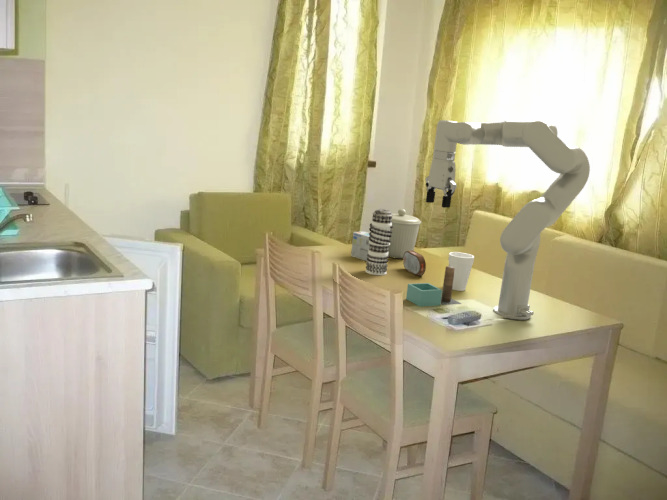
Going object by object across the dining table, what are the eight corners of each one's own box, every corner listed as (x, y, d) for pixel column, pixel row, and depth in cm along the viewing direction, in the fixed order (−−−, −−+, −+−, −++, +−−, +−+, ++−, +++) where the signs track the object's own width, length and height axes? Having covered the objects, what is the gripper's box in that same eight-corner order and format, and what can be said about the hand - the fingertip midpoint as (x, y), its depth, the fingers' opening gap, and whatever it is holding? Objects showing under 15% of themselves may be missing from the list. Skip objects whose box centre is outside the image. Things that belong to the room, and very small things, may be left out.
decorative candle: (375, 268, 282) (381, 207, 276) (392, 274, 275) (399, 211, 270) (359, 270, 275) (366, 208, 270) (377, 276, 269) (384, 212, 263)
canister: (397, 262, 296) (403, 213, 291) (367, 252, 308) (373, 206, 304) (425, 258, 308) (431, 212, 303) (395, 249, 321) (400, 204, 316)
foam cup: (469, 293, 258) (474, 259, 255) (444, 289, 259) (448, 255, 257) (469, 287, 267) (474, 254, 264) (445, 283, 268) (449, 250, 266)
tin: (425, 277, 275) (427, 257, 273) (418, 278, 273) (420, 257, 272) (407, 267, 288) (410, 248, 286) (400, 267, 287) (403, 248, 285)
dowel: (452, 301, 242) (456, 268, 239) (444, 302, 241) (449, 268, 238) (446, 299, 245) (451, 266, 242) (439, 299, 243) (443, 266, 241)
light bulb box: (379, 260, 296) (381, 235, 294) (368, 262, 291) (370, 237, 289) (361, 254, 303) (363, 230, 301) (350, 256, 299) (352, 231, 296)
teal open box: (439, 306, 237) (442, 289, 236) (419, 308, 233) (421, 290, 232) (426, 299, 244) (428, 283, 243) (405, 300, 240) (407, 283, 239)
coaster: (461, 305, 241) (461, 303, 241) (442, 306, 238) (442, 304, 237) (448, 298, 248) (448, 296, 248) (429, 299, 244) (429, 297, 244)
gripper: (467, 160, 237) (460, 209, 240) (438, 154, 252) (432, 200, 255) (449, 159, 233) (443, 209, 237) (421, 153, 248) (415, 200, 252)
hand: (437, 204), depth 246 cm, fingers open, 9 cm apart
